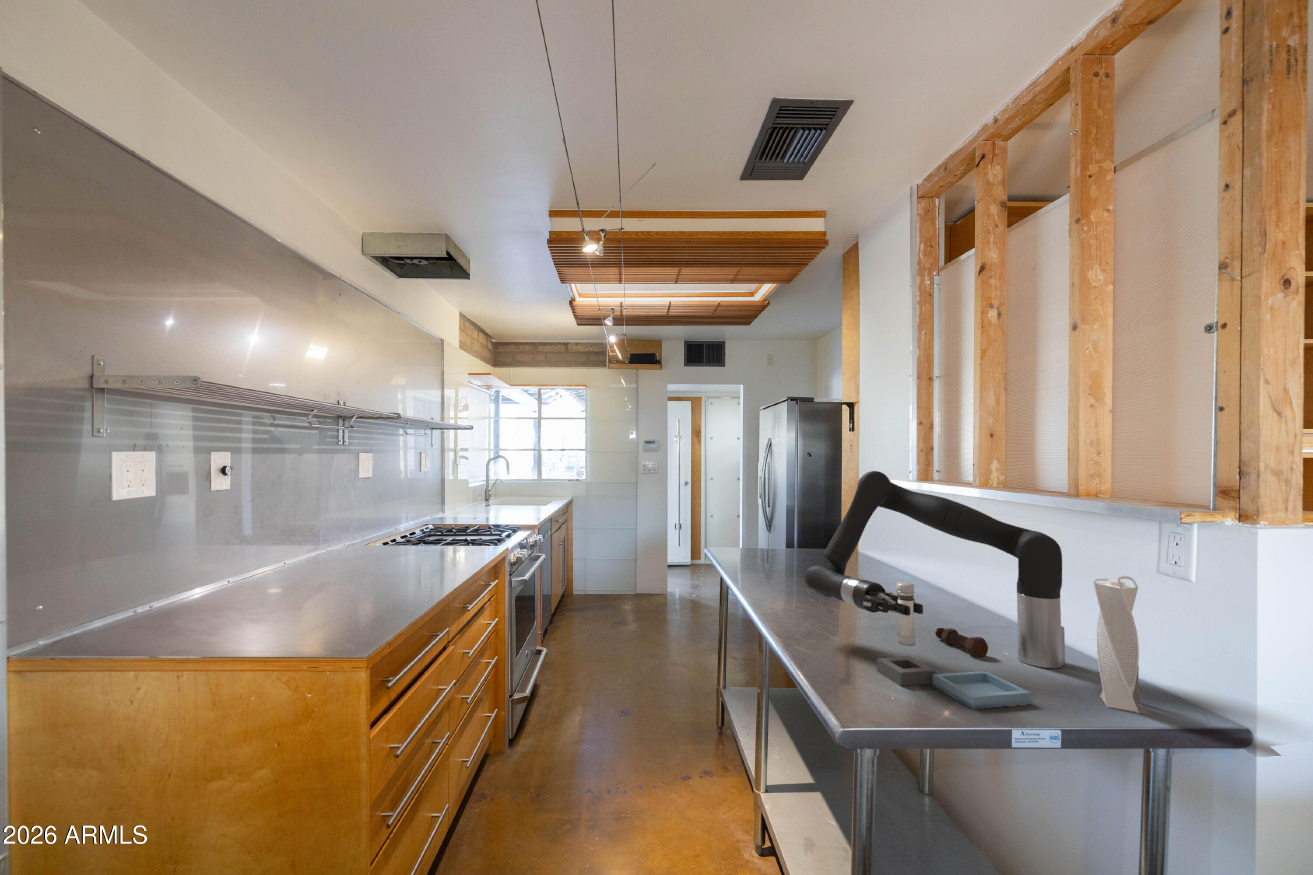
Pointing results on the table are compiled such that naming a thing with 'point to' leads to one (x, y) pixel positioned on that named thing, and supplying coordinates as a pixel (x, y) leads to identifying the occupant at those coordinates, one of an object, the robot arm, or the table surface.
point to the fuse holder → (905, 671)
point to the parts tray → (981, 689)
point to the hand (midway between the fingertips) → (915, 610)
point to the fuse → (904, 621)
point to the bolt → (963, 642)
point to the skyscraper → (1118, 645)
